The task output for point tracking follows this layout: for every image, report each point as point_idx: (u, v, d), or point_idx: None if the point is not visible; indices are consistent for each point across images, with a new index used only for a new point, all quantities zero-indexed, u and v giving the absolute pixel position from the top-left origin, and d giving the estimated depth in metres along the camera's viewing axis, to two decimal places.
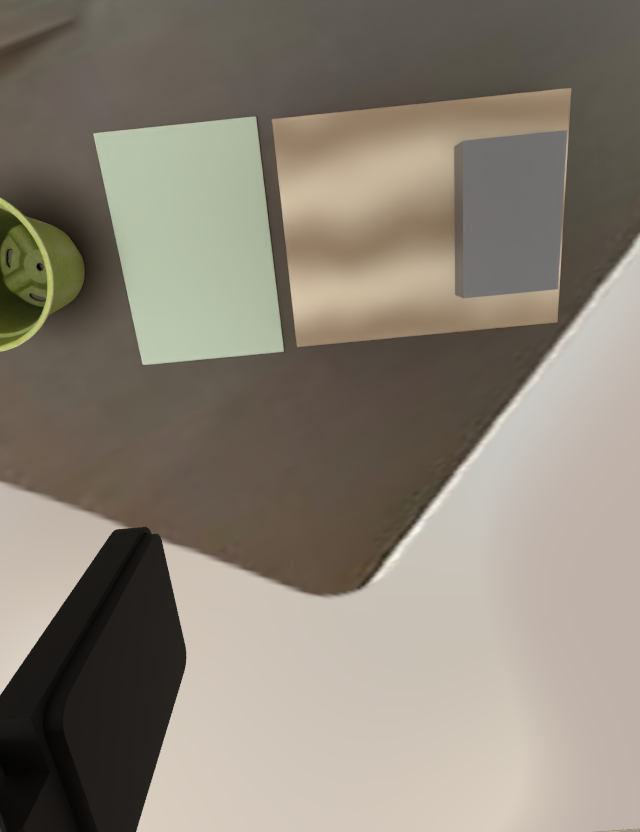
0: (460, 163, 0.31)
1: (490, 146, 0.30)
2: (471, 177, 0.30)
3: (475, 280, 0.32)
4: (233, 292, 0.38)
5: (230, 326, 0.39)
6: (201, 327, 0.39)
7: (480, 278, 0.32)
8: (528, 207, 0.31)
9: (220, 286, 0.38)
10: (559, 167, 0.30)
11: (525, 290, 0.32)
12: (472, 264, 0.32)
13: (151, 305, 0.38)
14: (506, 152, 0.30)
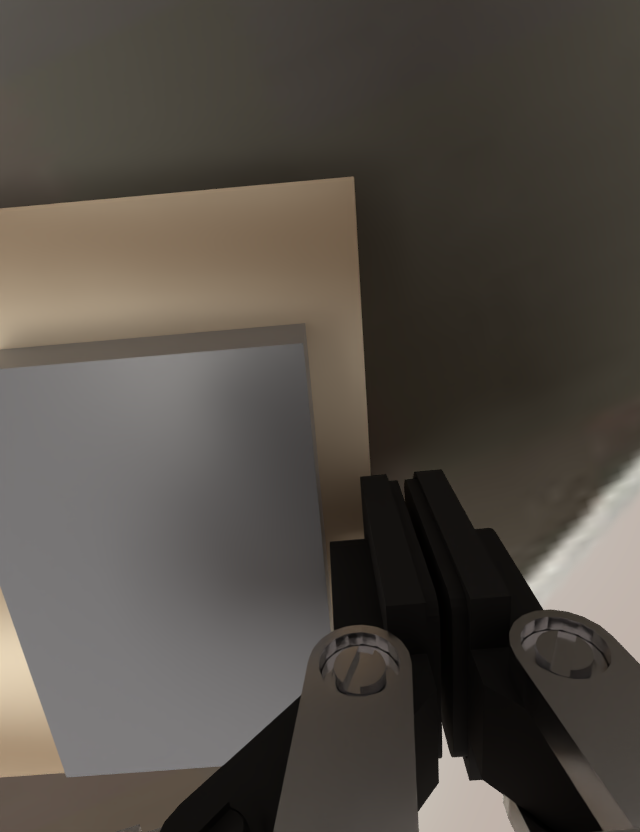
0: None
1: (33, 391, 0.08)
2: None
3: (90, 739, 0.11)
4: None
5: None
6: None
7: (104, 735, 0.11)
8: (211, 567, 0.09)
9: None
10: (294, 458, 0.09)
11: None
12: (68, 704, 0.10)
13: None
14: (97, 411, 0.08)
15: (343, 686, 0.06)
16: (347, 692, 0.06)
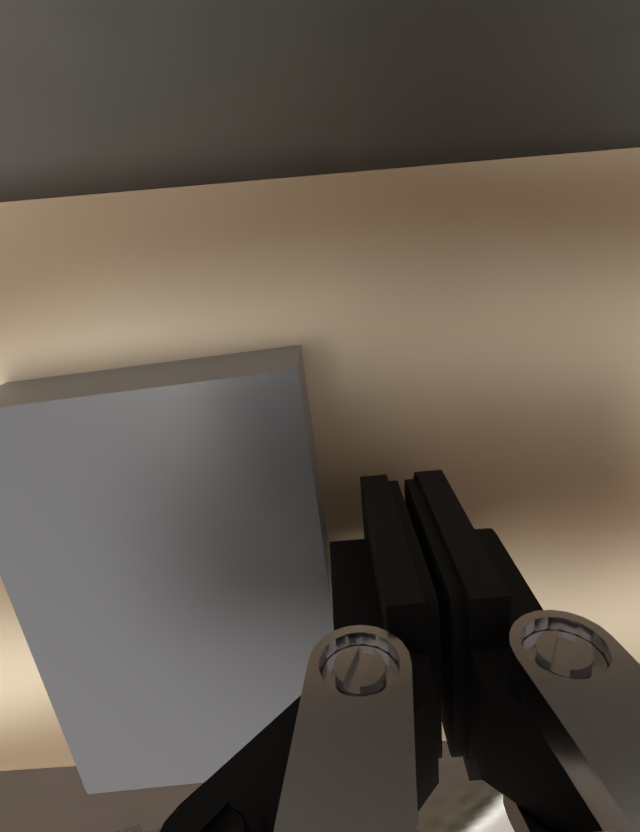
0: None
1: (39, 426, 0.09)
2: (5, 517, 0.09)
3: (109, 756, 0.11)
4: None
5: None
6: None
7: (122, 752, 0.11)
8: (218, 587, 0.10)
9: None
10: (294, 480, 0.09)
11: None
12: (86, 724, 0.11)
13: None
14: (101, 443, 0.09)
15: (344, 686, 0.06)
16: (348, 692, 0.06)
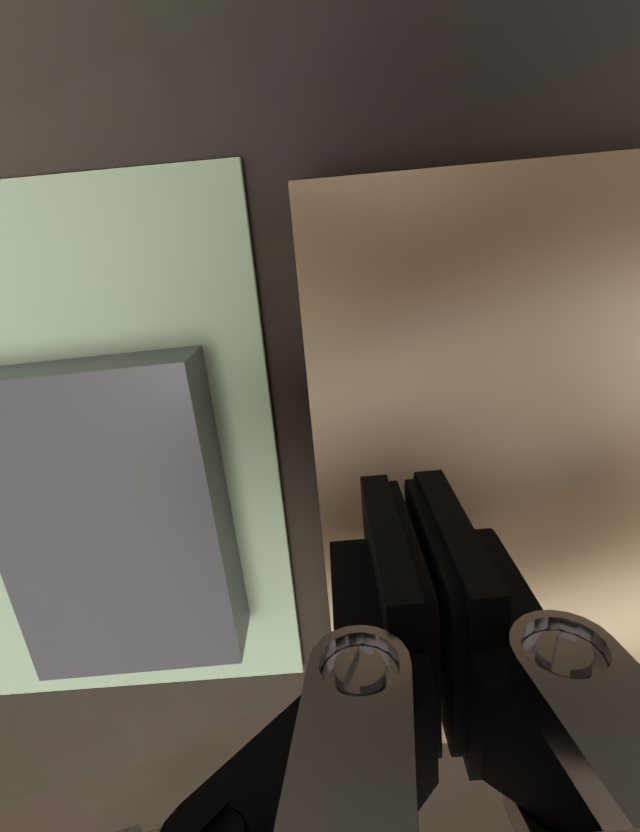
0: (204, 390, 0.14)
1: None
2: None
3: None
4: None
5: None
6: None
7: None
8: None
9: None
10: None
11: None
12: None
13: None
14: None
15: (343, 686, 0.06)
16: (347, 692, 0.06)
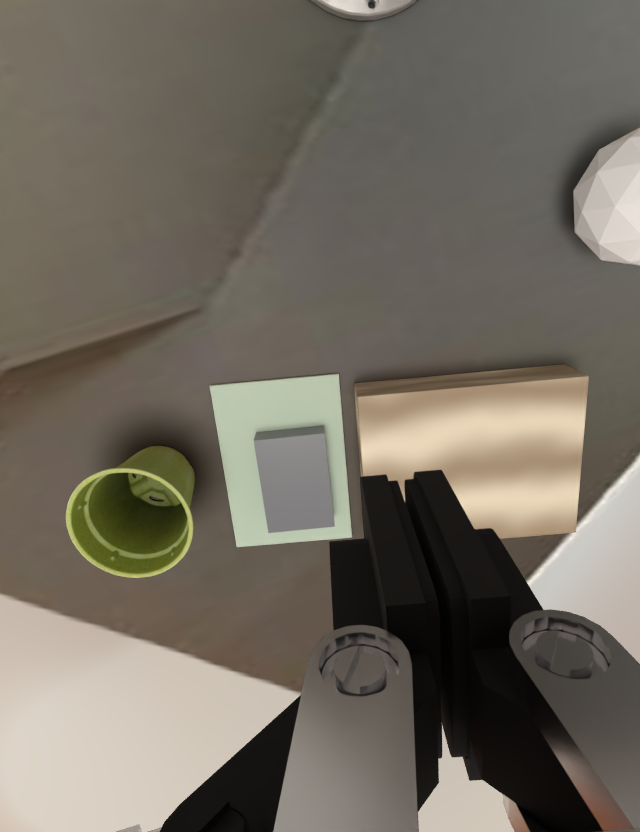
0: (325, 439, 0.45)
1: None
2: None
3: None
4: None
5: None
6: None
7: None
8: None
9: None
10: None
11: None
12: None
13: (247, 504, 0.47)
14: None
15: (343, 686, 0.06)
16: (347, 692, 0.06)
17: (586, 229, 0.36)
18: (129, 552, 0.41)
